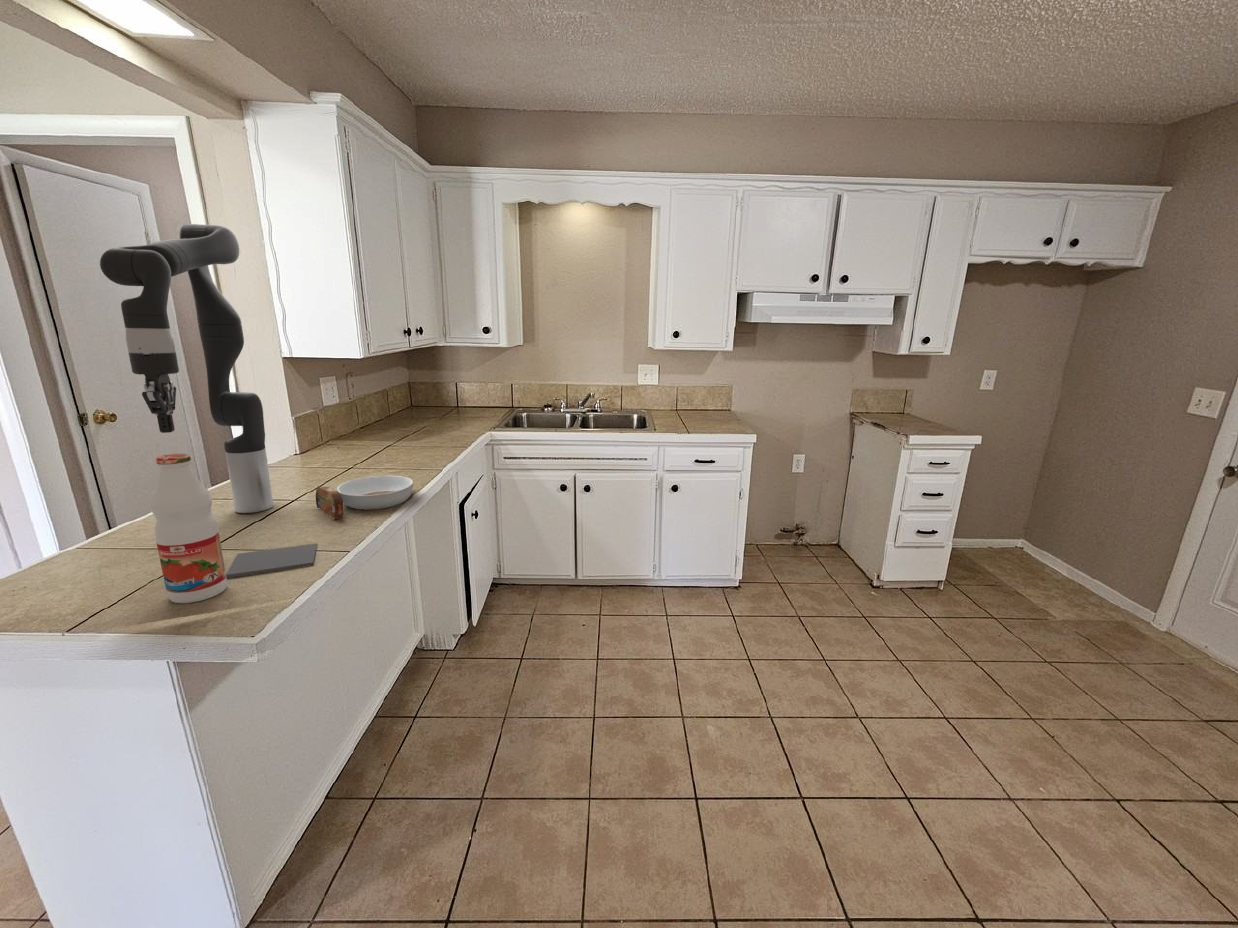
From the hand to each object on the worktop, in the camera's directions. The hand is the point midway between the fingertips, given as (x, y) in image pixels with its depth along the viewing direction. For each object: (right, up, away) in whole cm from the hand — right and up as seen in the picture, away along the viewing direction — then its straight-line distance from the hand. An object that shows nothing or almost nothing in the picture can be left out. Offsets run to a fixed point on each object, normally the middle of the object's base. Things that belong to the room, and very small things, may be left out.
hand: (167, 431), depth 113 cm
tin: (+17, -22, +34) cm, 44 cm away
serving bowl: (+26, -20, +44) cm, 55 cm away
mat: (+20, -29, +5) cm, 36 cm away
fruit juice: (+15, -33, -10) cm, 37 cm away
